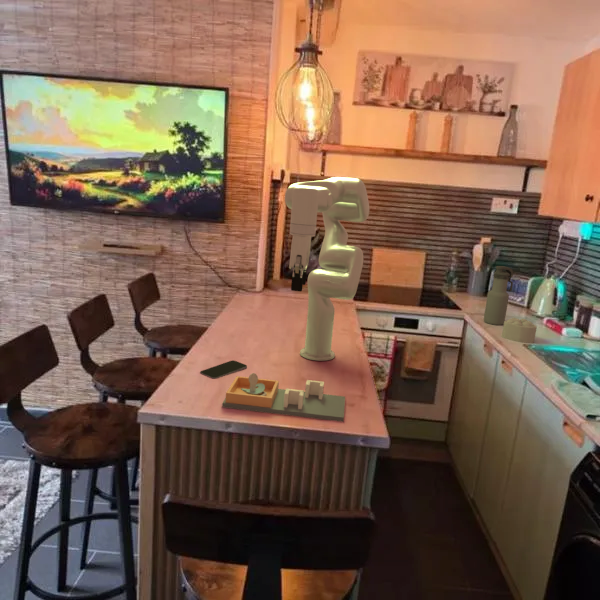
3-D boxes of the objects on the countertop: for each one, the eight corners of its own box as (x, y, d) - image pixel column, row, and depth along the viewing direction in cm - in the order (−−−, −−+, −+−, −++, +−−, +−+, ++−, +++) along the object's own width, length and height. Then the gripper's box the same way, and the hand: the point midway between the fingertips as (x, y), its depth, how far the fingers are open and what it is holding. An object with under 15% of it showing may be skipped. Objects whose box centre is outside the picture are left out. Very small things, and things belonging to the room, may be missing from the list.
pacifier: (271, 396, 148) (258, 388, 152) (273, 376, 146) (259, 368, 150) (250, 402, 143) (237, 394, 147) (252, 381, 141) (239, 374, 145)
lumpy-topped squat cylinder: (508, 333, 239) (511, 315, 237) (537, 340, 231) (541, 321, 229) (499, 337, 232) (502, 318, 230) (529, 345, 223) (532, 325, 221)
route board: (234, 387, 155) (235, 371, 154) (344, 400, 152) (346, 383, 151) (222, 407, 142) (223, 389, 140) (343, 421, 139) (345, 403, 138)
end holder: (236, 384, 154) (236, 376, 154) (278, 389, 153) (278, 380, 152) (225, 402, 142) (226, 392, 141) (271, 407, 141) (271, 398, 140)
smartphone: (198, 371, 165) (233, 359, 176) (198, 375, 165) (233, 362, 176) (214, 378, 160) (248, 365, 172) (214, 381, 160) (248, 368, 172)
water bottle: (495, 319, 262) (505, 265, 256) (509, 325, 254) (519, 268, 247) (479, 320, 259) (488, 264, 253) (491, 325, 250) (501, 268, 244)
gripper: (293, 226, 160) (289, 281, 164) (286, 231, 144) (281, 292, 148) (317, 228, 160) (313, 283, 164) (313, 234, 143) (308, 294, 147)
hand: (298, 287), depth 156 cm, fingers open, 9 cm apart
